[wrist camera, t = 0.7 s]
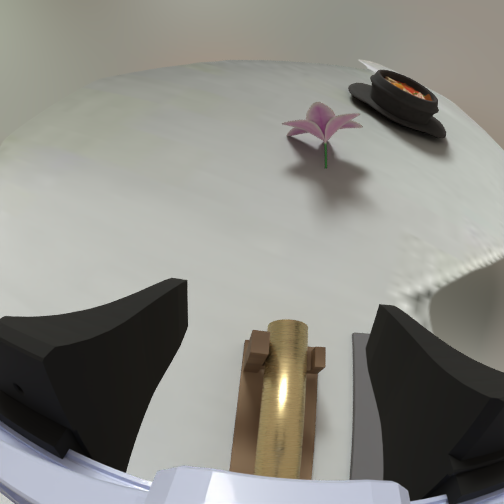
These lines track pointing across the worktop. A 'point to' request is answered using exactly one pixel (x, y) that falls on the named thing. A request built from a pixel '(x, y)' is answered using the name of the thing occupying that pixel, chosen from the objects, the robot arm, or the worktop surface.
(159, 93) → the worktop surface
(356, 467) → the mat
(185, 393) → the worktop surface
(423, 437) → the robot arm
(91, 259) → the worktop surface
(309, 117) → the lily
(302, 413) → the rail
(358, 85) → the casserole
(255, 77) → the worktop surface
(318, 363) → the hook stand
